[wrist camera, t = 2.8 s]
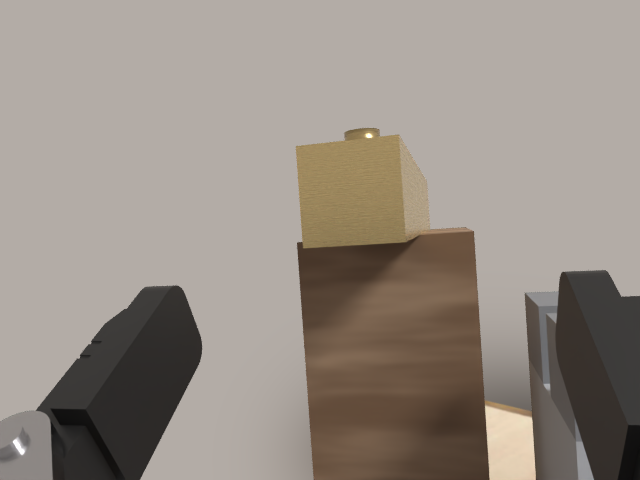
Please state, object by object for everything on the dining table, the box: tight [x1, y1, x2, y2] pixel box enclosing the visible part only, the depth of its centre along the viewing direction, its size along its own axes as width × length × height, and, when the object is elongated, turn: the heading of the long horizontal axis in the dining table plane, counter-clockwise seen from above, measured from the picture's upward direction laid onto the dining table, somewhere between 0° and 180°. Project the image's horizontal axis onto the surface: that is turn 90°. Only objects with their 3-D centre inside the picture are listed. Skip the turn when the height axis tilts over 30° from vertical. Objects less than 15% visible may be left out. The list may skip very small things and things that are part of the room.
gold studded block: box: [296, 128, 430, 248], centre depth 31 cm, size 24×4×5 cm, turn 166°
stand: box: [297, 227, 489, 480], centre depth 37 cm, size 16×10×32 cm, turn 166°
